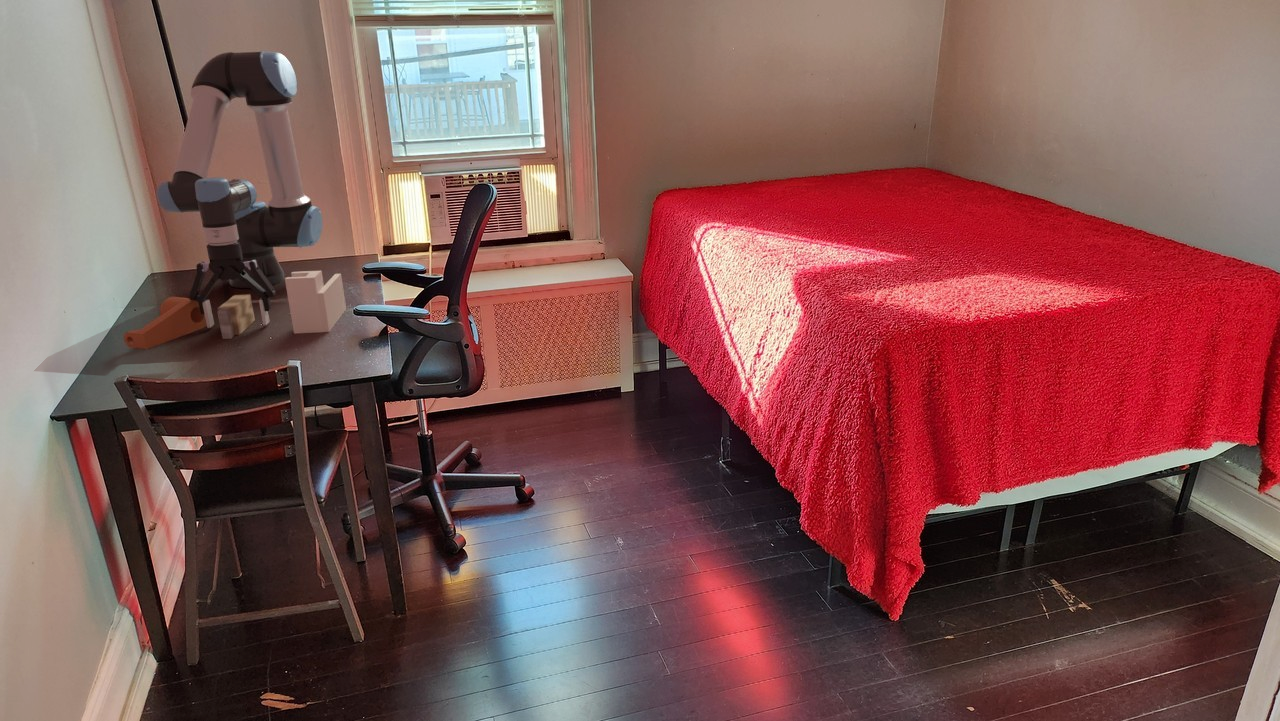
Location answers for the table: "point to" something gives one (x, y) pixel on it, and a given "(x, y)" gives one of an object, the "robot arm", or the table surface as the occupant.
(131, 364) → the table surface
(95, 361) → the table surface
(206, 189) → the robot arm
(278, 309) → the table surface
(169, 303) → the crank
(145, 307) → the table surface
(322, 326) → the white notched block
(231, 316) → the tan wooden block
